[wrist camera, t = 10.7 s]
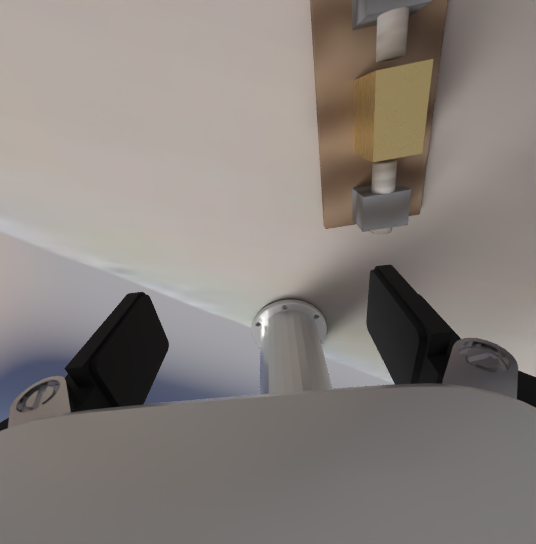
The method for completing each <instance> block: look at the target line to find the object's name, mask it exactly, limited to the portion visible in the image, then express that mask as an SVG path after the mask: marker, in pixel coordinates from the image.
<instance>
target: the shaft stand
mask: <svg viewBox="0 0 536 544" xmlns="http://www.w3.org/2000/svg"><path fill="white" fill-rule="evenodd" d="M447 3H448V0H310V5H311V22H312V38H313V55H314V71H315V88H316V104H317V121H318V137H319V154H320V170H321V187H322V203H323V220H324V227H325V229H329V228H335V227H341V226H348V225H354V224H357V225H358V227H359V228H360V229H361V230H362V231H363V232H365V231H370V232H372V233H374V234H387V233H390V232H391V231H392V227H397V226H403V225H408V216H411V215H418V214H420V208H421V200H422V193H423V185H424V177H425V170H426V162H427V155H428V147H429V140H430V132H431V124H432V117H433V109H434V102H435V94H436V87H437V79H438V71H439V64H440V56H441V49H442V41H443V34H444V26H445V19H446V11H447ZM430 59H433V67H432V75H431V84H430V92H429V101H428V109H427V118H426V126H425V135H424V143H423V152H422V154H417V155H411V156H405V157H400V158H394V159H389V160H383V161H378V162H371V161H369V160H366V159H364V158H361V157H359V156H356V155H354V80H356V79H358V78H360V77H363V76H365V75H367V74H369V73H372V72H374V71H377V70H381V69H386V68H391V67H396V66H401V65H406V64H410V63H415V62H420V61H425V60H430Z"/></svg>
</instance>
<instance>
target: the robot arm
mask: <svg viewBox="0 0 536 544" xmlns="http://www.w3.org/2000/svg"><path fill="white" fill-rule="evenodd" d="M367 328H368V331H369V333H370V335H371V337H372V339H373V341H374V343H375V345H376V347H377V349H378V351H379V353H380V355H381V357H382V359H383V361H384V363H385V365H386V367H387V369H388V371H389V373H390V375H391V377H392V379H393V381H394V383H395V384H394V385H378V386H364V387H348V388H337V389H336V388H335V389H332V386H331V382H330V378H329V374H328V370H327V366H326V361H325V357H324V353H323V349H322V345H321V344H322V343H323V341H324V339H325V337H326V334H327V326H326V322H325V319H324V316H323V315H322V313H321V312H320V311H319V310H318V309H317V308H316V307H315V306H313V305H311V304H309V303H307V302H304V301H300V300H290V299H289V300H281V301H277V302H274V303H272V304H269V305H267V306H266V307H264V308H263V309H262V310H261V311H260V312H259V313H258V314H257V315H256V317H255V318H254V321H253V323H252V337H253V340H254V342H255V344H256V345H257V347H258V348H259V349H260V391H259V392H260V393H259V395H247V396H235V397H224V398H213V399H200V400H190V401H177V402H166V403H155V404H144V402H145V399H146V397H147V395H148V393H149V391H150V389H151V386H152V384H153V382H154V380H155V377H156V375H157V373H158V371H159V369H160V366H161V364H162V362H163V360H164V357H165V355H166V353H167V351H168V347H169V343H168V339H167V337H166V335H165V332H164V330H163V328H162V325H161V323H160V320H159V318H158V316H157V313H156V311H155V308H154V306H153V304H152V301H151V299H150V297H149V296H148V295H146V294H145V293H143V292H137V293H129V294H127V295H126V296H125V298H124V299H123V300H122V301H121V303H120V304H119V305H118V306H117V307H116V308H115V309H114V311H113V312H112V313H111V314H110V315H109V317H108V318H107V319H106V320H105V321H104V322H103V324H102V325H101V326H100V327H99V328H98V330H97V331H96V332H95V333H94V334H93V335H92V337H91V338H90V339H89V340H88V341H87V343H86V344H85V345H84V346H83V347H82V348H81V350H80V351H79V352H78V353H77V354H76V356H75V357H74V358H73V359H72V360H71V362H70V363H69V364H68V365H67V366H66V368H65V370H66V371H67V373H68V375H67V376H66V378H63V377H61V376H53V377H49V378H46V379H43V380H41V381H39V382H37V383H35V384H33V385H32V386H30V387H29V388H27V389H26V390H25V391H23V392H22V393H21V394H20V395H19V396H18V397H17V398H16V399H15V401H14V402H13V404H12V405H11V408H10V412H9V418H8V419H6V420H4V421H2V422H1V423H0V544H536V377H534V376H531V375H528V374H526V373H523V372H521V371H518V365H517V361H516V360H515V358H514V357H513V356H512V355H511V354H510V353H509V352H508V351H507V350H505V349H504V348H502V347H500V346H498V345H497V344H494V343H492V342H489V341H487V340H482V339H478V338H464V339H461V338H460V337H459V336H458V335H457V334H456V333H455V332H454V331H453V330H452V329H451V328H450V326H449V325H448V324H447V323H446V322H445V321H444V320H443V319H442V318H441V317H440V316H439V315H438V313H437V312H436V311H435V310H434V309H433V308H432V307H431V306H430V305H429V304H428V303H427V301H426V300H425V299H424V298H423V297H422V296H421V295H419V294H417V292H416V291H415V290H414V289H413V288H412V287H411V286H410V285H409V284H408V283H407V281H406V280H405V279H404V278H403V277H402V276H401V275H400V274H399V273H398V272H397V270H396V269H395V268H394V267H393V266H392V265H383V266H376V267H375V269H374V270H371V271H370V280H369V294H368V307H367ZM143 404H144V405H143Z"/></svg>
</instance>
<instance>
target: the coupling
mask: <svg viewBox="0 0 536 544" xmlns="http://www.w3.org/2000/svg"><path fill="white" fill-rule="evenodd" d="M432 67H433V59H430V60H425V61H420V62H415V63H410V64H406V65H401V66H396V67H391V68H386V69H381V70H377V71H374V72H372V73H369V74H367V75H365V76H363V77H360V78H358V79H356V80H354V155H356V156H359V157H361V158H364V159H366V160H369V161H371V162H378V161H383V160H389V159H394V158H400V157H405V156H411V155H417V154H422V152H423V143H424V135H425V126H426V118H427V109H428V101H429V92H430V84H431V75H432Z"/></svg>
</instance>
